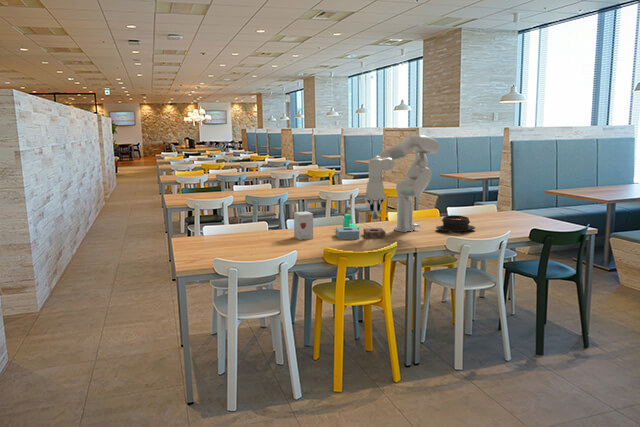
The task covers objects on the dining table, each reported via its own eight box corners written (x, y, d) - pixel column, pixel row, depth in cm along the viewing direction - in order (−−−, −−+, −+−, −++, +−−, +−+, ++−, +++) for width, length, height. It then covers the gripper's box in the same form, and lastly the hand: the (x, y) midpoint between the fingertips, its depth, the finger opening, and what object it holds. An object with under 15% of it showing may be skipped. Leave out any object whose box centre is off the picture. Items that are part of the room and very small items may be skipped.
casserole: (464, 226, 315) (465, 213, 314) (481, 232, 298) (482, 219, 296) (429, 229, 308) (430, 215, 307) (445, 235, 291) (446, 221, 289)
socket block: (356, 234, 295) (356, 226, 294) (359, 238, 283) (359, 231, 282) (336, 234, 294) (336, 227, 293) (338, 239, 282) (338, 231, 281)
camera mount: (359, 231, 302) (359, 215, 300) (347, 232, 301) (347, 215, 299) (354, 227, 314) (354, 212, 312) (342, 228, 312) (342, 212, 310)
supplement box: (298, 240, 280) (298, 214, 277) (293, 236, 288) (293, 212, 286) (313, 238, 283) (313, 213, 281) (308, 235, 292) (308, 210, 289)
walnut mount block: (381, 233, 295) (381, 228, 295) (385, 237, 285) (385, 232, 284) (363, 234, 294) (363, 228, 294) (366, 238, 284) (366, 232, 283)
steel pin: (377, 217, 290) (377, 199, 287) (378, 218, 286) (378, 200, 284) (371, 217, 289) (371, 199, 287) (372, 219, 286) (373, 200, 284)
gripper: (387, 178, 288) (387, 209, 291) (360, 179, 286) (360, 210, 290) (390, 180, 280) (390, 211, 284) (362, 181, 279) (362, 212, 283)
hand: (375, 210), depth 287 cm, fingers closed on steel pin, 3 cm apart
